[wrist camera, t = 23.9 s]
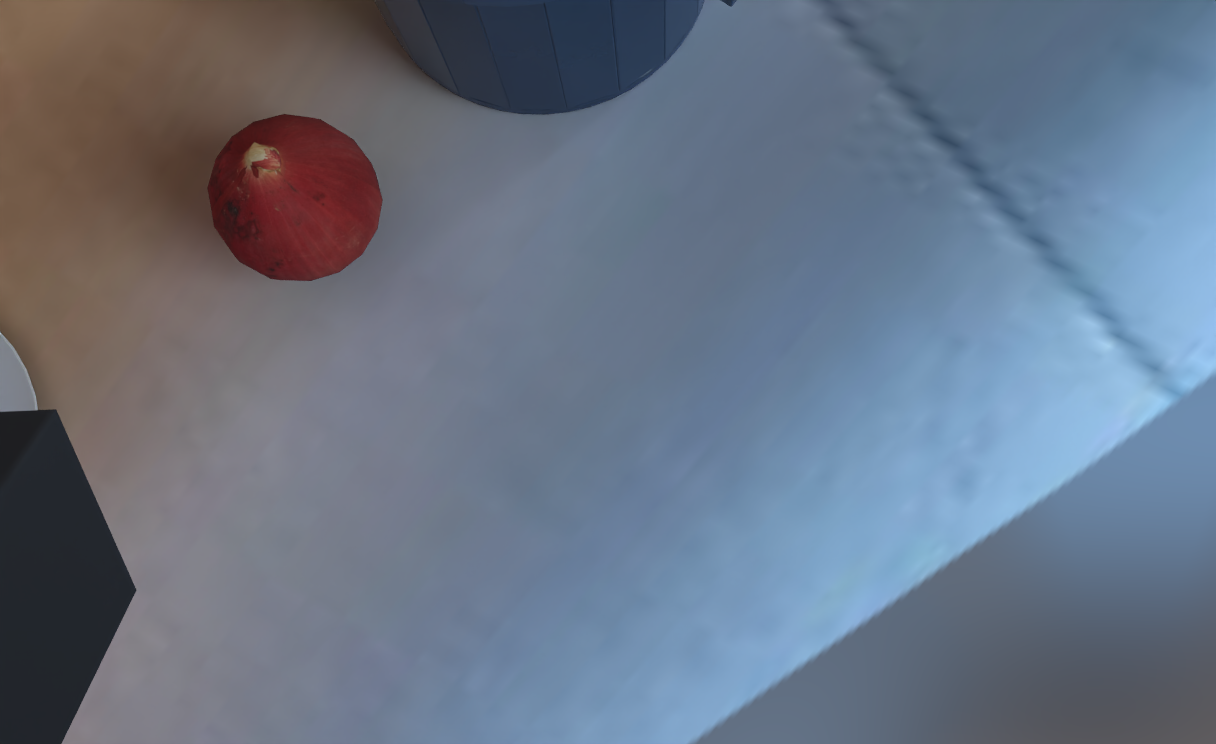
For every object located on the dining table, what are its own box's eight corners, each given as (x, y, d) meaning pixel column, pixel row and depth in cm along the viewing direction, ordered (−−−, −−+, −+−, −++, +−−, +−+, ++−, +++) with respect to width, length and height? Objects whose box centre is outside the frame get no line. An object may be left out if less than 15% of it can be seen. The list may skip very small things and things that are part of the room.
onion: (308, 332, 42) (227, 280, 34) (225, 218, 43) (127, 143, 35) (430, 241, 43) (377, 169, 35) (345, 130, 43) (275, 35, 36)
